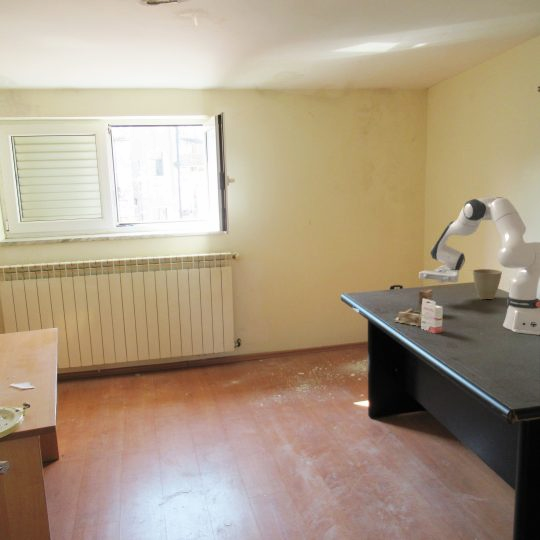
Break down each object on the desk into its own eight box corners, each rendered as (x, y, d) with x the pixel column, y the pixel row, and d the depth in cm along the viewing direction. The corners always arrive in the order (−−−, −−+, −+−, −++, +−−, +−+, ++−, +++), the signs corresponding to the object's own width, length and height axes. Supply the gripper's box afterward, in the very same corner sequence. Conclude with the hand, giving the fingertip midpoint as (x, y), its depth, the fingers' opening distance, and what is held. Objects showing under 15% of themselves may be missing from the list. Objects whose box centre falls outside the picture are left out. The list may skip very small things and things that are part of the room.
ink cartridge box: (442, 332, 213) (444, 300, 210) (434, 333, 210) (435, 301, 208) (428, 327, 220) (429, 296, 218) (420, 328, 218) (421, 298, 215)
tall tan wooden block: (431, 312, 244) (432, 290, 242) (427, 315, 239) (428, 292, 237) (423, 311, 247) (423, 288, 245) (418, 314, 241) (419, 291, 239)
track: (433, 319, 232) (433, 308, 231) (422, 327, 220) (422, 315, 219) (405, 315, 240) (405, 304, 239) (393, 322, 229) (394, 311, 228)
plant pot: (494, 295, 276) (496, 268, 273) (504, 301, 261) (506, 273, 259) (467, 295, 278) (469, 268, 275) (476, 301, 263) (477, 273, 260)
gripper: (423, 266, 266) (414, 271, 255) (461, 270, 254) (453, 275, 243) (423, 277, 267) (414, 282, 256) (460, 282, 255) (453, 287, 244)
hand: (433, 278), depth 250 cm, fingers open, 8 cm apart
